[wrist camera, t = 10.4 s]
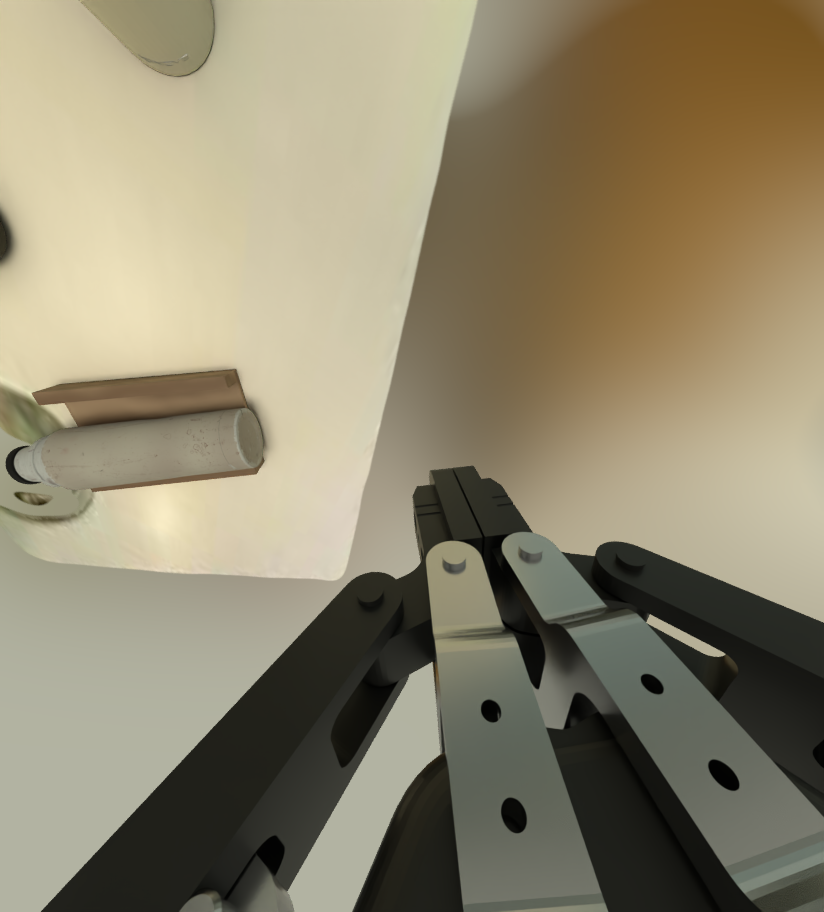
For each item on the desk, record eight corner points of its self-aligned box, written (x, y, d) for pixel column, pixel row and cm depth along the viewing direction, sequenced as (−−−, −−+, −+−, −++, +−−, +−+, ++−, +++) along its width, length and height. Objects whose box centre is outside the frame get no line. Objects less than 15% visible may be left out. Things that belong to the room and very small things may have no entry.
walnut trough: (59, 384, 42) (31, 392, 38) (235, 369, 44) (224, 376, 40) (112, 477, 48) (92, 491, 45) (264, 461, 50) (256, 474, 46)
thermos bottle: (264, 425, 48) (65, 448, 47) (238, 395, 41) (0, 422, 39) (262, 475, 45) (50, 503, 44) (234, 454, 38) (-23, 485, 36)
